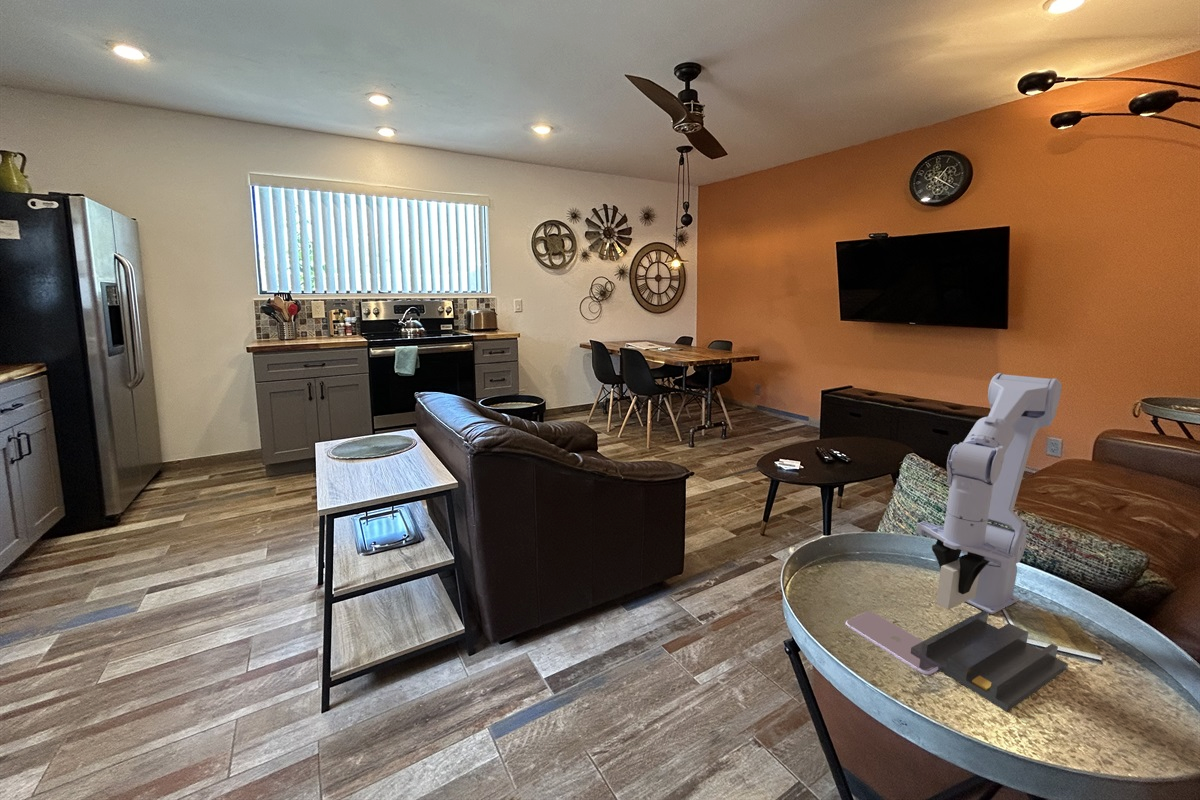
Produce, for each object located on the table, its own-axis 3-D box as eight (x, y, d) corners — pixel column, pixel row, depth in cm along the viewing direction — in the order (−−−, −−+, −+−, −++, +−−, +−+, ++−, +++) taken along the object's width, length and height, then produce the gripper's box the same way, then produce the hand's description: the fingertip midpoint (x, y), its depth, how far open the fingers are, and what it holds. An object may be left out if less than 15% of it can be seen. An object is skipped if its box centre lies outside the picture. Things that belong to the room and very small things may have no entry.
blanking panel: (963, 591, 92) (968, 555, 91) (975, 597, 91) (981, 560, 89) (935, 603, 89) (941, 566, 87) (947, 609, 87) (953, 571, 86)
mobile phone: (869, 608, 97) (954, 656, 84) (869, 613, 97) (953, 662, 84) (842, 620, 94) (926, 673, 81) (842, 625, 94) (926, 678, 81)
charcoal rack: (971, 620, 94) (973, 605, 93) (1067, 669, 82) (1070, 652, 81) (910, 652, 86) (912, 636, 85) (1007, 711, 74) (1010, 693, 73)
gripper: (909, 503, 91) (900, 573, 93) (1002, 537, 78) (989, 617, 81) (933, 496, 94) (924, 564, 97) (1027, 527, 81) (1014, 605, 84)
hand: (955, 588), depth 89 cm, fingers closed on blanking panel, 2 cm apart
